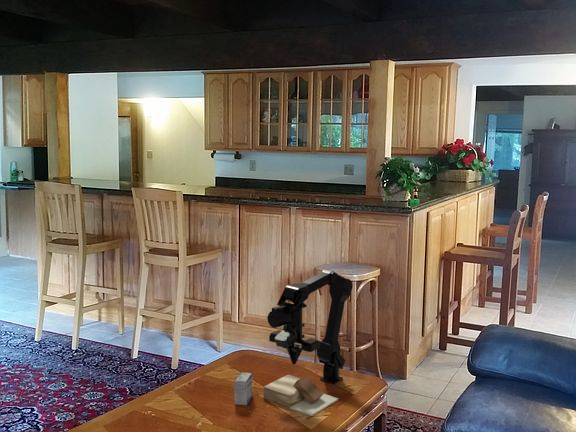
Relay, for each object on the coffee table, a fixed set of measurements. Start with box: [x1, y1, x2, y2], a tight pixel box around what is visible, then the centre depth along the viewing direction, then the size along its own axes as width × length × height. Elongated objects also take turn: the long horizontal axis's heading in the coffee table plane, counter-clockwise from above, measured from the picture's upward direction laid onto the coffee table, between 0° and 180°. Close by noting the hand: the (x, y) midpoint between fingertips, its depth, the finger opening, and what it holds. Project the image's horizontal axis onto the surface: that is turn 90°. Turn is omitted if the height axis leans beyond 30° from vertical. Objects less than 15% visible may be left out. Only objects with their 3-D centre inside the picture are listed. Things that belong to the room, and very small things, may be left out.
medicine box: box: [233, 372, 253, 406], centre depth 210 cm, size 8×4×9 cm, turn 168°
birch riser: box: [263, 374, 305, 408], centre depth 214 cm, size 14×12×4 cm
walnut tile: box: [293, 374, 325, 405], centre depth 210 cm, size 9×6×2 cm
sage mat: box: [289, 393, 339, 417], centre depth 208 cm, size 16×9×1 cm, turn 142°
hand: (294, 363), depth 213 cm, fingers closed
